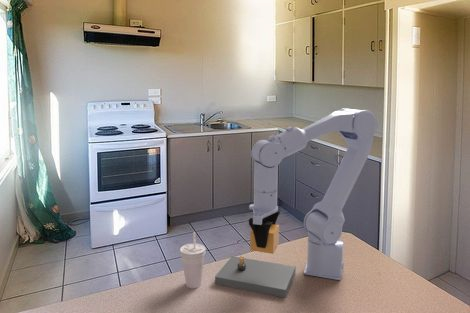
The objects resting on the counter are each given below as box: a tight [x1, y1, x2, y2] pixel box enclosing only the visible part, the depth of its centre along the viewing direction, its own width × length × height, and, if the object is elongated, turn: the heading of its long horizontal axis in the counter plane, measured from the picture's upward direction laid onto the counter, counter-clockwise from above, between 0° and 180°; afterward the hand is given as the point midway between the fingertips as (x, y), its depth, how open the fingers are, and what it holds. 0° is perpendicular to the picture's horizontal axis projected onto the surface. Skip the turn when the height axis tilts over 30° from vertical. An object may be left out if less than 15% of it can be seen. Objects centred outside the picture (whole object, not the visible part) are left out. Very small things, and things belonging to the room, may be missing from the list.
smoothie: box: [179, 231, 207, 289], centre depth 92 cm, size 6×6×14 cm
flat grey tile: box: [214, 255, 297, 298], centre depth 95 cm, size 18×12×5 cm, turn 70°
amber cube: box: [249, 224, 280, 255], centre depth 92 cm, size 6×6×5 cm
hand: (264, 241), depth 93 cm, fingers closed on amber cube, 6 cm apart
